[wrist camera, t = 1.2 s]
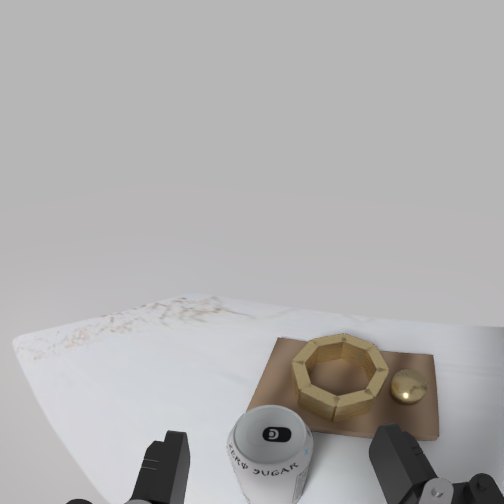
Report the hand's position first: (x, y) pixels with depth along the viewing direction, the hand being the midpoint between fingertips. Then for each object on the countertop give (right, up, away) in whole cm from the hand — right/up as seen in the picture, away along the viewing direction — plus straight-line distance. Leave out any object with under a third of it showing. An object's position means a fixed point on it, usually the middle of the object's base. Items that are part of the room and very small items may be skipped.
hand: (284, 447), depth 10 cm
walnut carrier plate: (+12, -10, +25) cm, 29 cm away
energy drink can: (+1, -17, +14) cm, 22 cm away
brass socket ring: (+12, -9, +25) cm, 29 cm away
